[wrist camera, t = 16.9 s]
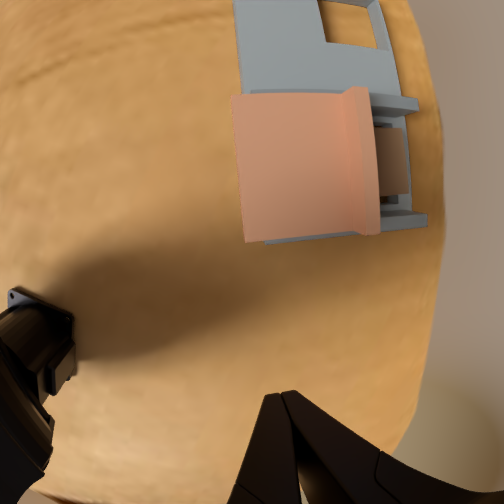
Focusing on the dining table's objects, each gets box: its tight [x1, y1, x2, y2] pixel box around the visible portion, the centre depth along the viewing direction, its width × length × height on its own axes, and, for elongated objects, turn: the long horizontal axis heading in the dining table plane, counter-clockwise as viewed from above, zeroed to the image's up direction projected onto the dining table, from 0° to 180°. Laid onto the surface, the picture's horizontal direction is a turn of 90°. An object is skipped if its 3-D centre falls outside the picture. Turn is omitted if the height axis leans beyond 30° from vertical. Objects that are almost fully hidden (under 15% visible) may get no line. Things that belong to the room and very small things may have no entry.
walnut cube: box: [374, 128, 409, 196], centre depth 18 cm, size 4×4×4 cm
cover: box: [231, 86, 380, 243], centre depth 14 cm, size 6×7×2 cm
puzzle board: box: [232, 0, 427, 245], centre depth 16 cm, size 11×18×4 cm, turn 6°
